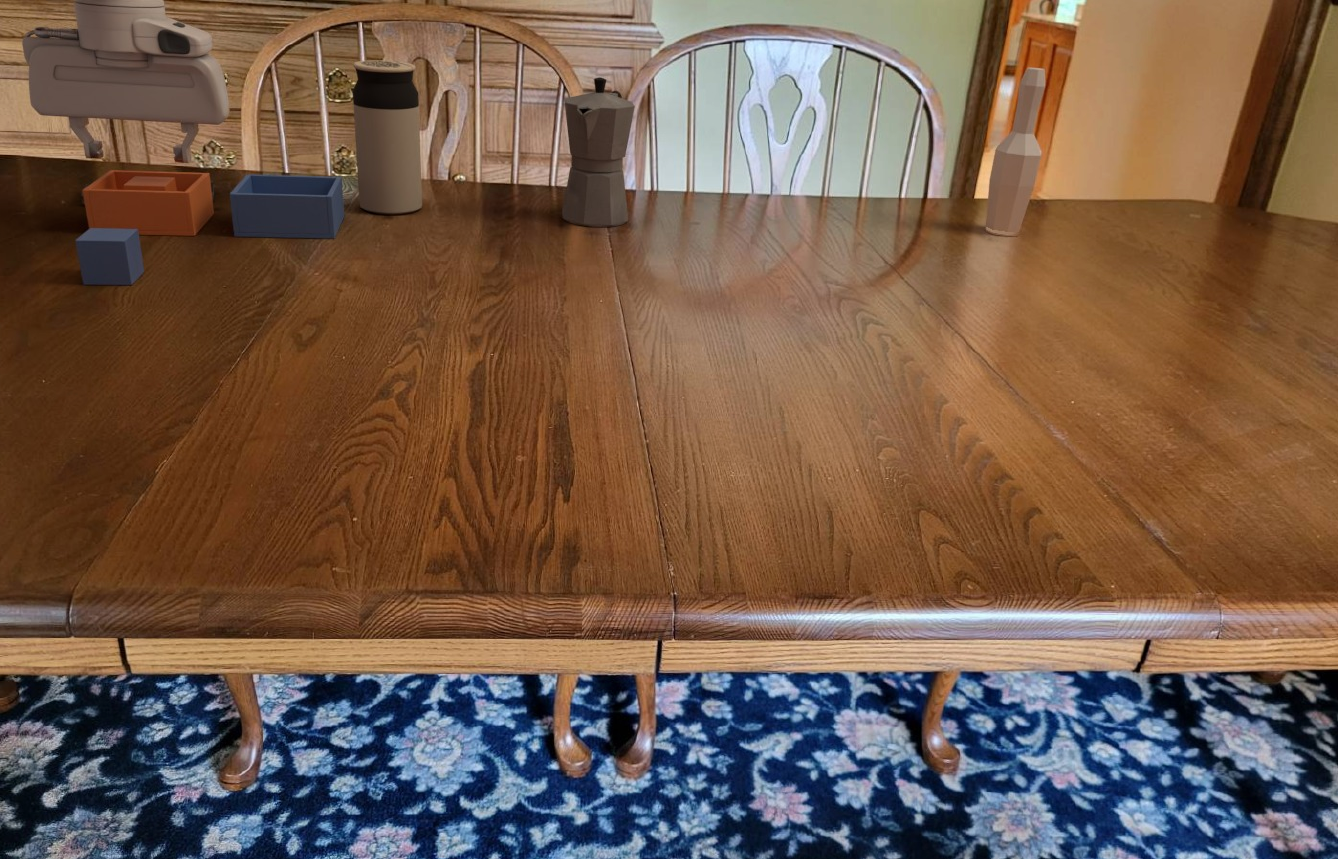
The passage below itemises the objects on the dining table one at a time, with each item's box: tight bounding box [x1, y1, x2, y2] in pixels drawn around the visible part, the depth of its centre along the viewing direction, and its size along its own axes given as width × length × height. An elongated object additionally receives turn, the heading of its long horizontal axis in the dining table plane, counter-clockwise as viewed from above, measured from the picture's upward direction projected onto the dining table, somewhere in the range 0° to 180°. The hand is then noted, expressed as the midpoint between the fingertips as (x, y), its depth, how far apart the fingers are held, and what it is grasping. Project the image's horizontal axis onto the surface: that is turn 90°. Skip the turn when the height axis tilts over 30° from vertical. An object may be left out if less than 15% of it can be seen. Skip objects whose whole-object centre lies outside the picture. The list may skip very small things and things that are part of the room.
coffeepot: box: [561, 77, 636, 228], centre depth 137 cm, size 15×9×18 cm, turn 165°
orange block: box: [123, 176, 177, 191], centre depth 124 cm, size 4×4×4 cm
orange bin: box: [82, 169, 215, 237], centre depth 124 cm, size 11×10×5 cm
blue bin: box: [229, 173, 345, 240], centre depth 126 cm, size 11×10×5 cm
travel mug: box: [352, 59, 423, 216], centre depth 134 cm, size 8×8×18 cm
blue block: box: [75, 228, 145, 286], centre depth 105 cm, size 4×4×4 cm
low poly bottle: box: [985, 67, 1046, 237], centre depth 144 cm, size 6×6×22 cm
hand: (139, 159), depth 121 cm, fingers open, 8 cm apart
